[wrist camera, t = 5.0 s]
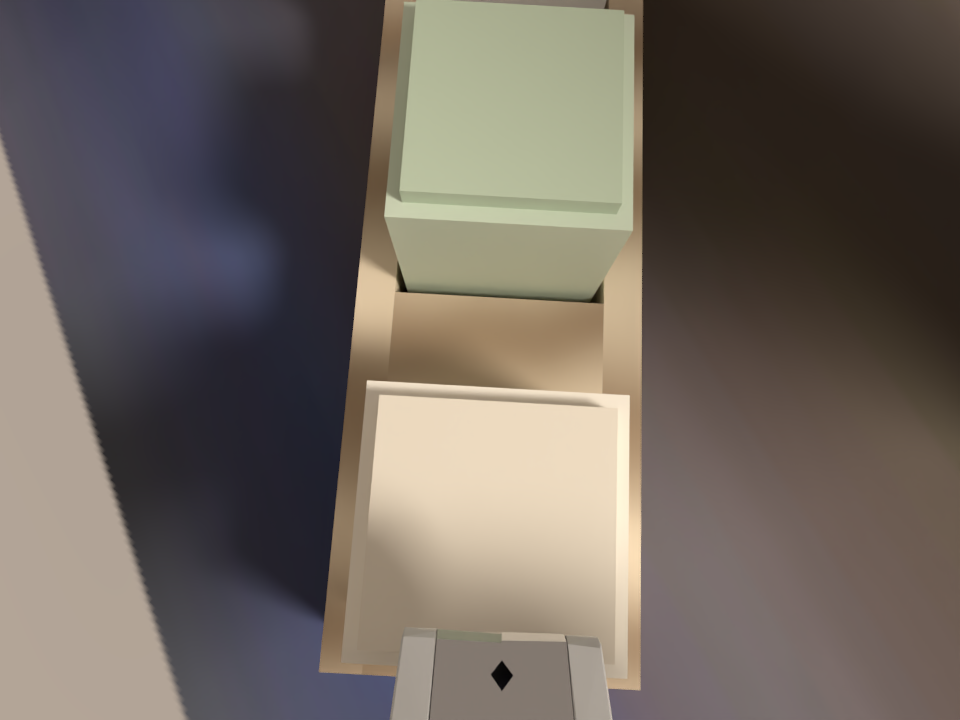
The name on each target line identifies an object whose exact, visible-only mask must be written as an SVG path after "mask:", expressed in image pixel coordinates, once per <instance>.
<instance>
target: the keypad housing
mask: <svg viewBox="0 0 960 720" xmlns="http://www.w3.org/2000/svg"><path fill="white" fill-rule="evenodd" d="M404 2H416V0H386V1H385V12H384V22H383V32H382V42H381V52H380V62H379V72H378V82H377V92H376V102H375V112H374V122H373V133H372V143H371V153H370V163H369V173H368V183H367V193H366V203H365V213H364V223H363V233H362V244H361V254H360V264H359V274H358V284H357V294H356V304H355V314H354V324H353V334H352V344H351V355H350V365H349V375H348V385H347V395H346V405H345V415H344V425H343V435H342V445H341V455H340V466H339V476H338V486H337V496H336V506H335V516H334V526H333V536H332V546H331V556H330V566H329V577H328V587H327V597H326V607H325V617H324V627H323V637H322V647H321V657H320V667H319V672H328V673H345V674H363V675H381V676H396V673H397V666H389V665H371V664H354V663H341V655H342V644H343V634H344V623H345V612H346V601H347V591H348V580H349V569H350V558H351V548H352V537H353V526H354V515H355V504H356V494H357V483H358V472H359V461H360V451H361V440H362V429H363V418H364V408H365V397H366V386H367V380H369V381H387V382H404V383H422V384H439V385H457V386H475V387H492V388H510V389H527V390H545V391H563V392H580V393H598V394H615V395H630V419H629V546H628V673H627V679H618V678H606V680H607V687H608V688H610V689H628V690H640V630H641V384H642V139H643V0H606V4H605V8H604V9H610V10H624V14H629V15H634V150H633V231H632V233H631V235H630V236H629V238H628V240H627V241H626V243H625V245H624V246H623V248H622V250H621V251H620V253H619V255H618V256H617V258H616V260H615V261H614V263H613V265H612V266H611V268H610V269H609V271H608V273H607V274H606V276H605V278H604V279H603V281H602V283H601V284H600V286H599V288H598V289H597V291H596V293H595V294H594V296H593V298H592V299H591V301H590V302H589V303H581V302H563V301H546V300H528V299H510V298H493V297H475V296H458V295H440V294H422V293H408V291H407V288H406V284H405V281H404V278H403V275H402V272H401V269H400V265H399V262H398V259H397V256H396V253H395V249H394V246H393V243H392V240H391V237H390V234H389V230H388V227H387V224H386V221H385V218H384V213H385V203H386V192H387V181H388V170H389V159H390V148H391V137H392V127H393V116H394V105H395V94H396V83H397V72H398V62H399V51H400V40H401V29H402V18H403V7H404Z"/></svg>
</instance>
